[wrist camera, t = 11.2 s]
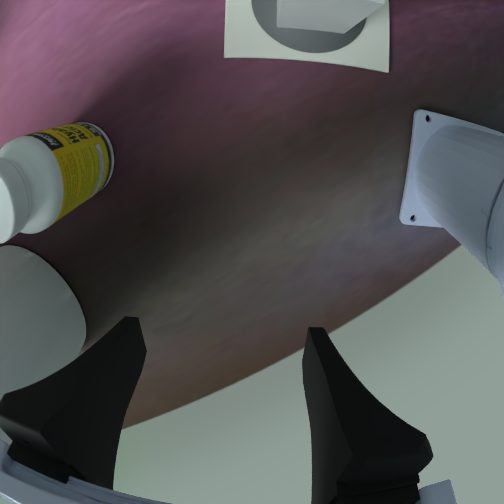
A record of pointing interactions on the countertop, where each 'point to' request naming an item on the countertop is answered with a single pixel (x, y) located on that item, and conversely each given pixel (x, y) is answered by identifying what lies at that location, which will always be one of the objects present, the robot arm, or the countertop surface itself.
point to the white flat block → (304, 37)
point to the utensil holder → (35, 321)
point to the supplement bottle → (51, 175)
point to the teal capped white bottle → (324, 14)
